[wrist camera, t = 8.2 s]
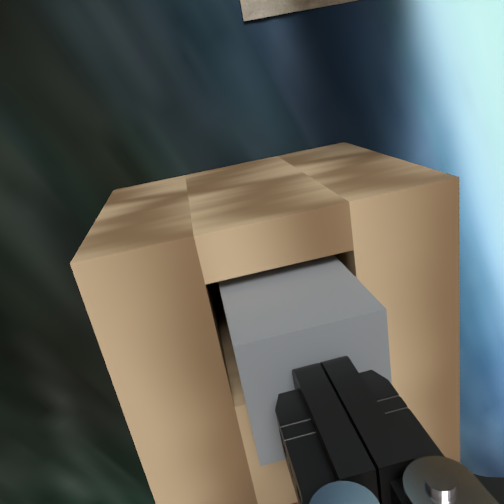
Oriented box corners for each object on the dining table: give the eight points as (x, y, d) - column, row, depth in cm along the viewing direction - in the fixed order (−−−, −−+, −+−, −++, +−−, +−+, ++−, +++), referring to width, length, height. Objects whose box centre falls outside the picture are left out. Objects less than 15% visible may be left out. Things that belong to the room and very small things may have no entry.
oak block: (194, 460, 29) (204, 638, 19) (113, 190, 22) (69, 263, 13) (370, 412, 30) (460, 559, 20) (344, 142, 23) (459, 177, 14)
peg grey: (227, 325, 20) (260, 466, 12) (208, 242, 18) (233, 346, 11) (313, 304, 20) (395, 429, 13) (301, 221, 19) (386, 308, 11)
